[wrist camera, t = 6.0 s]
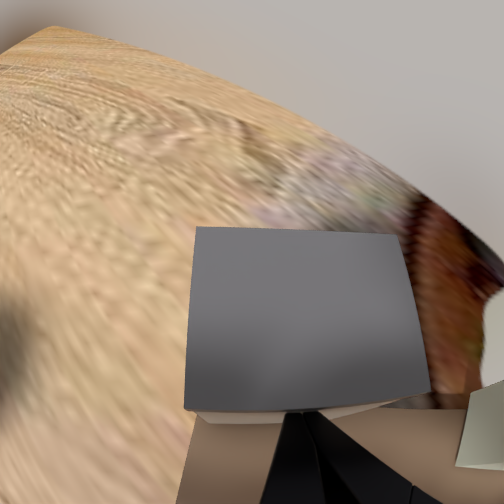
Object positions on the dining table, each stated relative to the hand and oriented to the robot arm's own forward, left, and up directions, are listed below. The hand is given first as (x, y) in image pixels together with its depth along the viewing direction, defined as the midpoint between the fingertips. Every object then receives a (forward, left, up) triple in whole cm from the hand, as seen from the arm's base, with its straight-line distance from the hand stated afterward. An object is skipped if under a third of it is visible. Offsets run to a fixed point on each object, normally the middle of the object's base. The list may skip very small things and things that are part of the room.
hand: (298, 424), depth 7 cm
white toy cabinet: (+2, +1, -5) cm, 6 cm away
